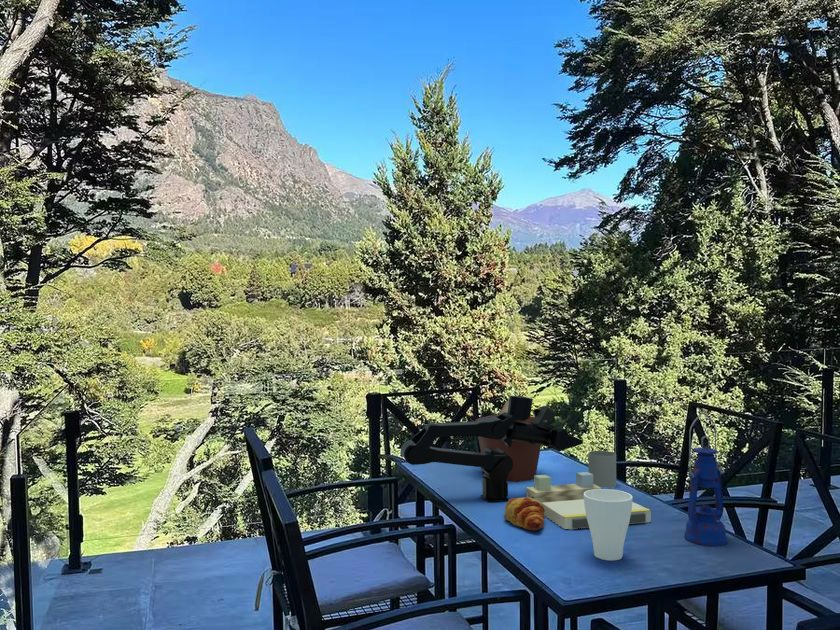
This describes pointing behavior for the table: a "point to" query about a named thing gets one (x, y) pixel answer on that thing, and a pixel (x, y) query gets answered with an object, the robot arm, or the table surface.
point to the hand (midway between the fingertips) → (576, 440)
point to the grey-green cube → (542, 482)
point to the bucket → (515, 453)
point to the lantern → (705, 519)
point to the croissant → (525, 513)
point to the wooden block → (559, 493)
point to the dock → (575, 514)
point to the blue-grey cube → (584, 479)
